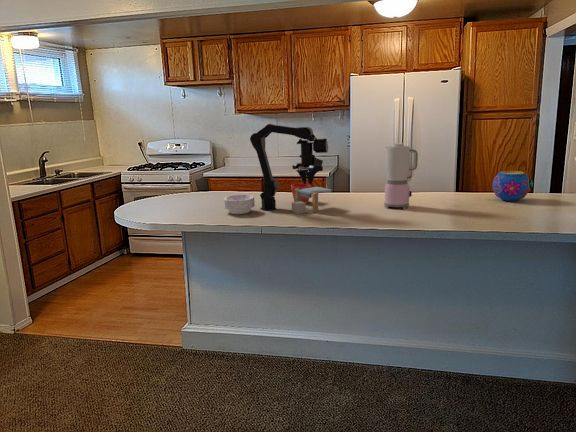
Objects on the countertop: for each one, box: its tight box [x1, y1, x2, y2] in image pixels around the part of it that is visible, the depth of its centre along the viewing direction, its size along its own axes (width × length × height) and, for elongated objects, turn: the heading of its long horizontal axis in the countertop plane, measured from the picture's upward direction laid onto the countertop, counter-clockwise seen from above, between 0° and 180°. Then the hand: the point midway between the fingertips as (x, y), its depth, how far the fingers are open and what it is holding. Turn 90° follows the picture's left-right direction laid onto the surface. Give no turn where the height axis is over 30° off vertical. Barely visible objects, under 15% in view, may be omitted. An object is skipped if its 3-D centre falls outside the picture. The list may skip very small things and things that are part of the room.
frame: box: [295, 188, 319, 214], centre depth 223 cm, size 2×17×10 cm, turn 34°
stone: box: [291, 201, 307, 215], centre depth 219 cm, size 5×5×5 cm
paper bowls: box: [223, 194, 256, 215], centre depth 222 cm, size 15×15×8 cm
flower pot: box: [290, 183, 312, 204], centre depth 242 cm, size 11×11×10 cm
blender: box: [383, 142, 419, 210], centre depth 221 cm, size 16×12×32 cm
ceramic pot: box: [492, 170, 534, 202], centre depth 231 cm, size 18×18×15 cm
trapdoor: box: [298, 186, 333, 199], centre depth 224 cm, size 13×12×3 cm
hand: (307, 184), depth 220 cm, fingers open, 4 cm apart
